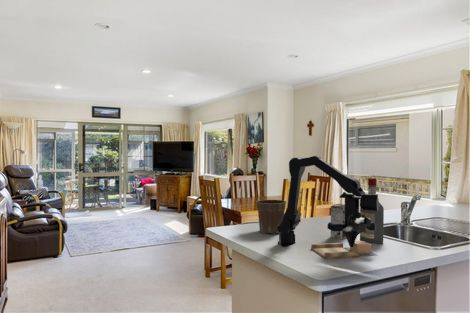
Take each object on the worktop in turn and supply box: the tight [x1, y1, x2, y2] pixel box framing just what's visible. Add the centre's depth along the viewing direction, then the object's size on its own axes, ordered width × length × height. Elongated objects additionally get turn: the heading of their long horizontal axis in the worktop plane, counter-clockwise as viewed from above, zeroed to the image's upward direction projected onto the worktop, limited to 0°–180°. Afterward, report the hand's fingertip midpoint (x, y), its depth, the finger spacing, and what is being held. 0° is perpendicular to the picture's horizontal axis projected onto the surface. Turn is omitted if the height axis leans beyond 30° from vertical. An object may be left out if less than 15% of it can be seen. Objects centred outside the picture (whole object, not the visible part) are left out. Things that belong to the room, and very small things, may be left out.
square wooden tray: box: [310, 242, 360, 260], centre depth 143 cm, size 14×14×3 cm
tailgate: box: [343, 247, 378, 257], centre depth 145 cm, size 10×11×1 cm
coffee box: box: [330, 203, 347, 240], centre depth 173 cm, size 9×6×16 cm
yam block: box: [349, 240, 372, 253], centre depth 145 cm, size 6×6×4 cm
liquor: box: [359, 177, 385, 245], centre depth 165 cm, size 9×9×30 cm
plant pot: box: [255, 199, 288, 235], centre depth 185 cm, size 16×16×16 cm
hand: (351, 247), depth 145 cm, fingers closed
